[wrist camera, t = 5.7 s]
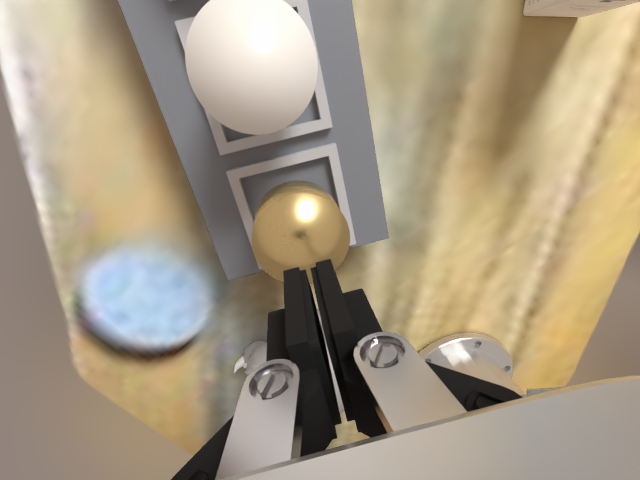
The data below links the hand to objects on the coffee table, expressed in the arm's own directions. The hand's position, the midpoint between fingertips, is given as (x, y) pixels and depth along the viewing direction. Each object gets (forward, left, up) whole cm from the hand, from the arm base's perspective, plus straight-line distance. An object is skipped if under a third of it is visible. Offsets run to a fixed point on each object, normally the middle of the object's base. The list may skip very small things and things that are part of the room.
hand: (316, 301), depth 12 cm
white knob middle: (+7, +3, -9) cm, 12 cm away
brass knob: (0, 0, -9) cm, 9 cm away
